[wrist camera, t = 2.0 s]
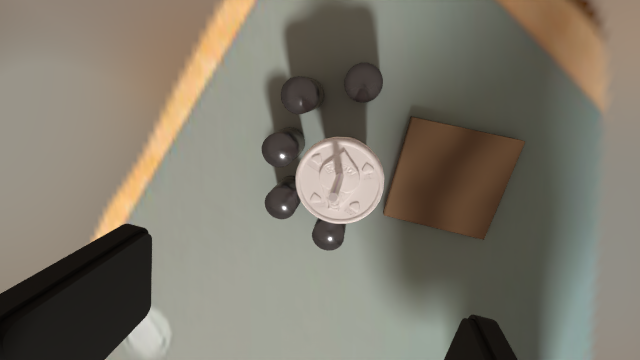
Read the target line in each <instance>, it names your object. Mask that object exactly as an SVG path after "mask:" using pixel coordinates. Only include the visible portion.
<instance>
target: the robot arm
mask: <svg viewBox="0 0 640 360" xmlns="http://www.w3.org/2000/svg"><path fill="white" fill-rule="evenodd" d="M151 272H152V237H151V235H149V234H148V231H147V229H145V228H143V227H139V226H135V225H131V224H124V225H121V226H120V227H118V228H116V229H114V230H113V231H111V232H109V233H107V234H106V235H104V236H102V237H100V238H98V239H97V240H95V241H93V242H91V243H90V244H88V245H86V246H84V247H82V248H81V249H79V250H77V251H75V252H74V253H72V254H70V255H68V256H67V257H65V258H63V259H61V260H59V261H58V262H56V263H54V264H52V265H51V266H49V267H47V268H45V269H43V270H42V271H40V272H38V273H36V274H35V275H33V276H32V277H30V278H28V279H26V280H24V281H22V282H21V283H19V284H17V285H15V286H13V287H12V288H10V289H8V290H6V291H4V292H3V293H1V294H0V360H105V359H106V358H107V357H108V355H109V354H110V353H111V352H112V351H113V350H114V349H115V348H116V347H117V346H118V345H119V344H120V343H121V342H122V341H123V340H124V339H125V338H126V337H127V336H128V335H129V334H130V333H131V332H132V331H133V330H134V328H135V327H136V326H137V325H138V324H139V323H140V322H141V321H142V320H143V319H144V318H145V317H146V316H147V314H148V312H149V310H150V307H151ZM444 360H517V358H516V356H515V354H514V352H513V351H512V349H511V347H510V345H509V343H508V341H507V340H506V338H505V336H504V334H503V332H502V331H501V329H500V327H499V325H498V324H497V322H496V321H494V320H492V319H488V318H484V317H480V316H476V315H471V316H469V318H468V319H466V318H464V319H462V321H461V323H460V325H459V327H458V330H457V332H456V334H455V336H454V339H453V341H452V343H451V345H450V348H449V350H448V352H447V354H446V357H445V359H444Z"/></svg>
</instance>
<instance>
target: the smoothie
mask: <svg viewBox="0 0 640 360" xmlns="http://www.w3.org/2000/svg"><path fill="white" fill-rule="evenodd" d="M383 188H384V173H383V168H382V165H381V163H380V161H379V159H378V157H377V155H376V154H375V153H374V152H373V151H372V150H371V149H370V148H369V147H368V146H366V145H365V144H363V143H362V142H360V141H359V140H357V139H355V138H352V137H332V138H327V139H324V140H322V141H320V142H318V143H316V144H314V145H313V146H312V147H311V148H310V149H309V150H308V151H307V152H306V153H305V155H304V156H303V158H302V159H301V161H300V163H299V165H298V168H297V172H296V189H297V193H298V196H299V198H300V200H301V202H302V203H303V205H304V206H305V207H306V208H307V210H308V211H309V212H311V213H312V214H313V215H315V216H316V217H318V218H319V219H322V220H324V221H327V222H330V223H335V224H346V223H352V222H355V221H358V220H360V219H362V218H364V217H366V216H367V215H368V214H370V213H371V212H372V211H373V210H374V209H375V207H376V206H377V204H378V203H379V201H380V199H381V196H382V193H383Z"/></svg>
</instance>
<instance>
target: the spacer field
mask: <svg viewBox="0 0 640 360" xmlns="http://www.w3.org/2000/svg"><path fill="white" fill-rule="evenodd" d="M382 85H383V79H382V75H381V73H380V71H379V69H378V68H377V67H375V66H374V65H372V64H370V63H359V64H357V65H355V66H353V67H352V68H351V69H350V70H349V71H348V73H347V75H346V78H345V89H346V92H347V94H348V95H349V96H350V98H352V99H353V100H355V101H357V102H369V101H371V100H373V99H374V98H376V97H377V96H378V94H379V93H380V91H381V89H382ZM281 98H282V102H283V104H284V106H285V107H286V108H287V109H288V110H289V111H290V112H292V113H295V114H303V113H306V112H309V111H312V110H314V109H316V108H318V107H319V106H320V105H321V104H322V102H323V99H324V90H323V87H322V86H321V84H320V83H319V82H318V81H316V80H314V79H311V78H305V77H300V76H297V77H293V78H290V79H289V80H288V81H286V83H285V84H284V85H283V88H282V91H281ZM304 146H305V139H304V136H303V135H302V133H301V132H300V131H299V130H297V129H295V128H290V127H289V128H285V129H283V130H280V131H278V132H276V133H274V134H272V135H270V136H268V137H267V138H266V139H265V140H264V142H263V145H262V154H263V157H264V158H265V160H266V161H267V162H268V163H269V164H271V165H272V166H275V167H284V166H286V165H288V164H289V163H290V162H291V161H292V160H294V159H295V158H296V157H297V156H298V155H299V154H300V153H301V152H302V151H303V149H304ZM300 202H301V200H300V198H299V196H298V193H297V189H296V177H295V176H287V177H284V178H283V179H282V180H281V181H280V182H279V183H278V184H277V185H276V186H275V187H274V188H273V189H272V190H271V191H270V192H269V193H268V195H267V196H266V198H265V207H266V209H267V211H268V212H269V214H270V215H272V216H273V217H275V218H278V219H286V218H289V217H290V216H292V215H293V213H294V212H295V210H296V208H297V207H298V205H299V203H300ZM345 227H346V224H335V223H330V222H327V221H324V220H322V219H319V218H318V219H317V221H316V224H315V227H314V229H313V232H312V238H313V241H314V243H315V244H316V245H317V246H318V247H319V248H321V249H324V250H334V249H337V248H338V247H340V245H341V244H342V242H343V239H344V233H345Z"/></svg>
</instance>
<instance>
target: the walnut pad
mask: <svg viewBox="0 0 640 360" xmlns="http://www.w3.org/2000/svg"><path fill="white" fill-rule="evenodd" d="M524 144H525V141H522V140H518V139H513V138H509V137H504V136H499V135H495V134H490V133H485V132H481V131H476V130H471V129H467V128H462V127H457V126H453V125H448V124H443V123H439V122H434V121H429V120H425V119H420V118H415V117H411V119H410V122H409V126H408V129H407V132H406V136H405V139H404V143H403V146H402V150H401V153H400V156H399V160H398V163H397V167H396V170H395V174H394V177H393V180H392V184H391V187H390V191H389V194H388V198H387V201H386V204H385V208H384V211H383V212H384V215H385V216H389V217H393V218H397V219H401V220H405V221H409V222H413V223H418V224H422V225H426V226H430V227H434V228H438V229H442V230H446V231H450V232H454V233H458V234H462V235H466V236H471V237H475V238H479V239H483V240H484V238H485V236H486V233H487V231H488V229H489V226H490V224H491V222H492V219H493V217H494V214H495V212H496V210H497V207H498V205H499V203H500V200H501V198H502V196H503V193H504V191H505V188H506V186H507V184H508V181H509V179H510V177H511V174H512V172H513V170H514V167H515V165H516V162H517V160H518V158H519V155H520V153H521V151H522V148H523V146H524Z"/></svg>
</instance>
